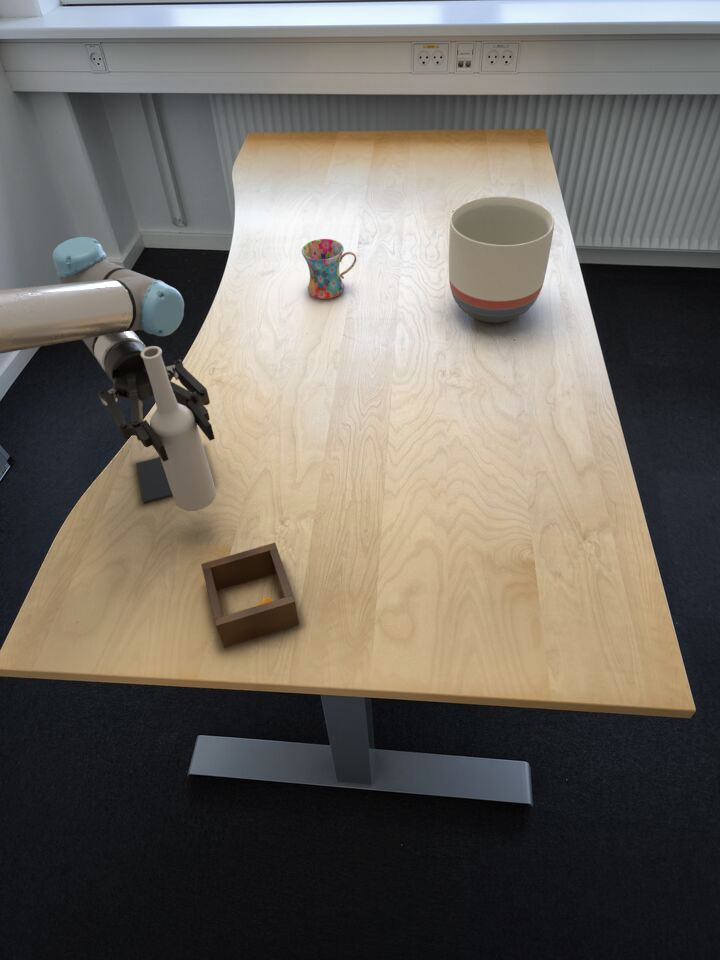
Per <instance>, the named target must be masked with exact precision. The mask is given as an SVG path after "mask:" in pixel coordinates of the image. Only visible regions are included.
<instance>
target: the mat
mask: <svg viewBox="0 0 720 960" xmlns="http://www.w3.org/2000/svg"><path fill="white" fill-rule="evenodd" d="M135 466H136V471H137V476H138V481H139V488H140V491H141V492H140V494H141V498H142V502H143V503H142V504H147V503H151V502H155V501H159V500H162V499H163V500H164V499H166V498H169V497H173V494H172V491H171V489H170V486H169V483H168V480H167V477H166V474H165V471H164V468H163V465H162V462H161V459H160V456H159V457H155V458H151V459H147V460H144V461H140V462H136V463H135Z"/></svg>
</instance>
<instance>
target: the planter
mask: <svg viewBox="0 0 720 960" xmlns="http://www.w3.org/2000/svg"><path fill="white" fill-rule="evenodd" d="M554 230H555V218H554V216H553V214H552V213H551V212H550V211H549V209H548V208H546V207H544V206H543V205H541V204H540V203H537V202H535V201H532V200H530V199H526V198H521V197H515V196H503V195H499V196H498V195H497V196H485V197H479V198H475V199H471V200H469V201H467V202H464V203H463V204H461V205H459V206H458V207H456V208H455V209H454V210H453V212H452V213H451V215H450V218H449V237H448V238H449V239H448V281H449V286H450V291H451V295H452V297H453V300H454V302H455V303H456V304H457V306H458V307H459V308H460V309H461V310H462V311H463V312H464V313H465V314H466V315H468V316H470V317H471V318H473V319H476V320H478V321H480V322H485V323H492V324H494V323H504V322H508V321H513V320H514V319H516V318H518V317H520V316H522V315H524V314H525V313H526V312H527V311H529V310H530V309H531V308H532V307H533V306H534V304H535V303H536V301H537V299H538V298H539V296H540V293H541V291H542V289H543V285H544V282H545V278H546V275H547V274H546V273H547V268H548V264H549V259H550V254H551V248H552V242H553V235H554Z"/></svg>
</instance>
